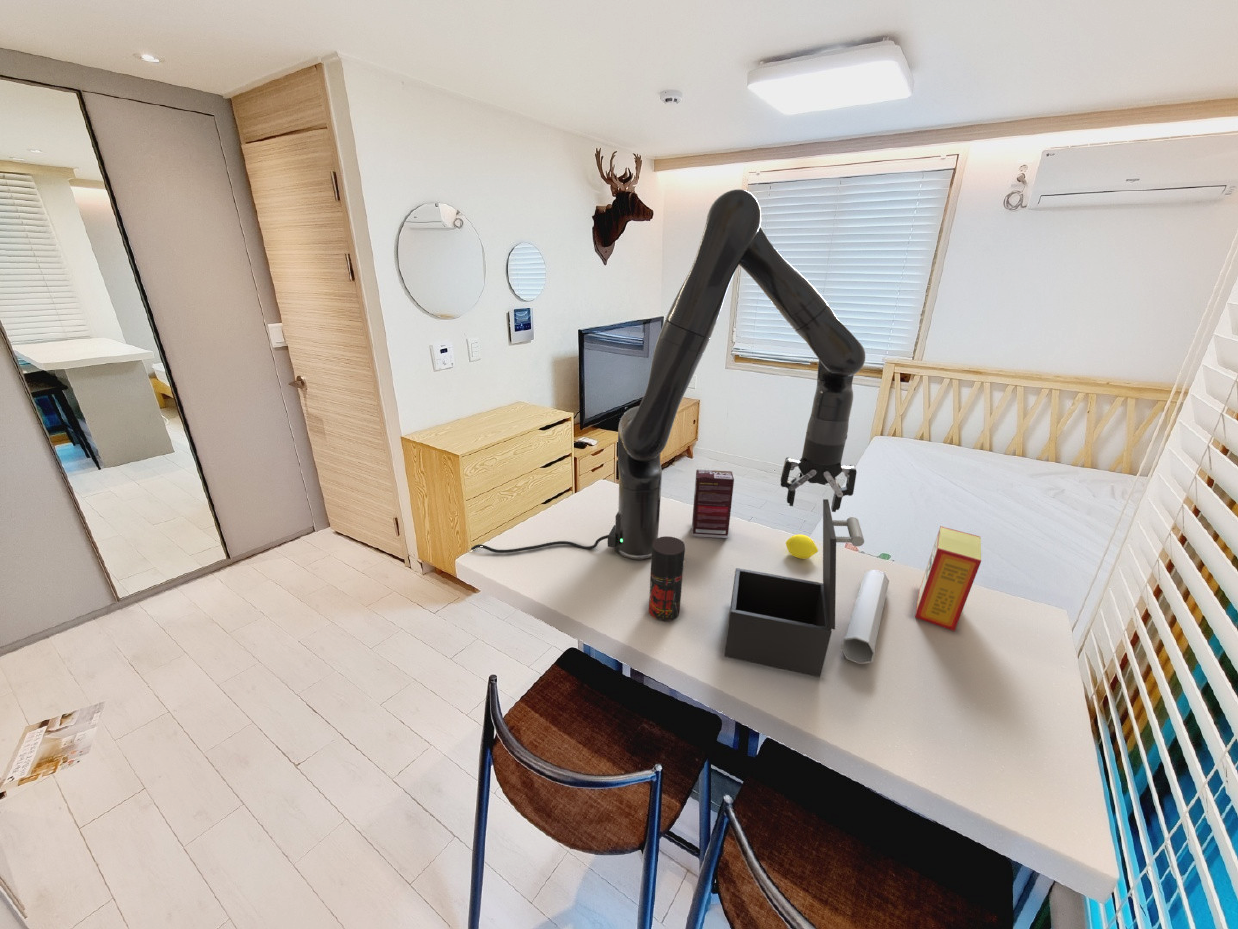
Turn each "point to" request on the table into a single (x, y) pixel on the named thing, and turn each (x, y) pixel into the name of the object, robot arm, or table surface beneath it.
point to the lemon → (801, 546)
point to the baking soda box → (948, 577)
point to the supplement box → (712, 503)
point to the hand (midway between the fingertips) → (811, 507)
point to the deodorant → (666, 578)
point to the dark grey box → (778, 622)
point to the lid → (830, 554)
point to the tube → (866, 618)
